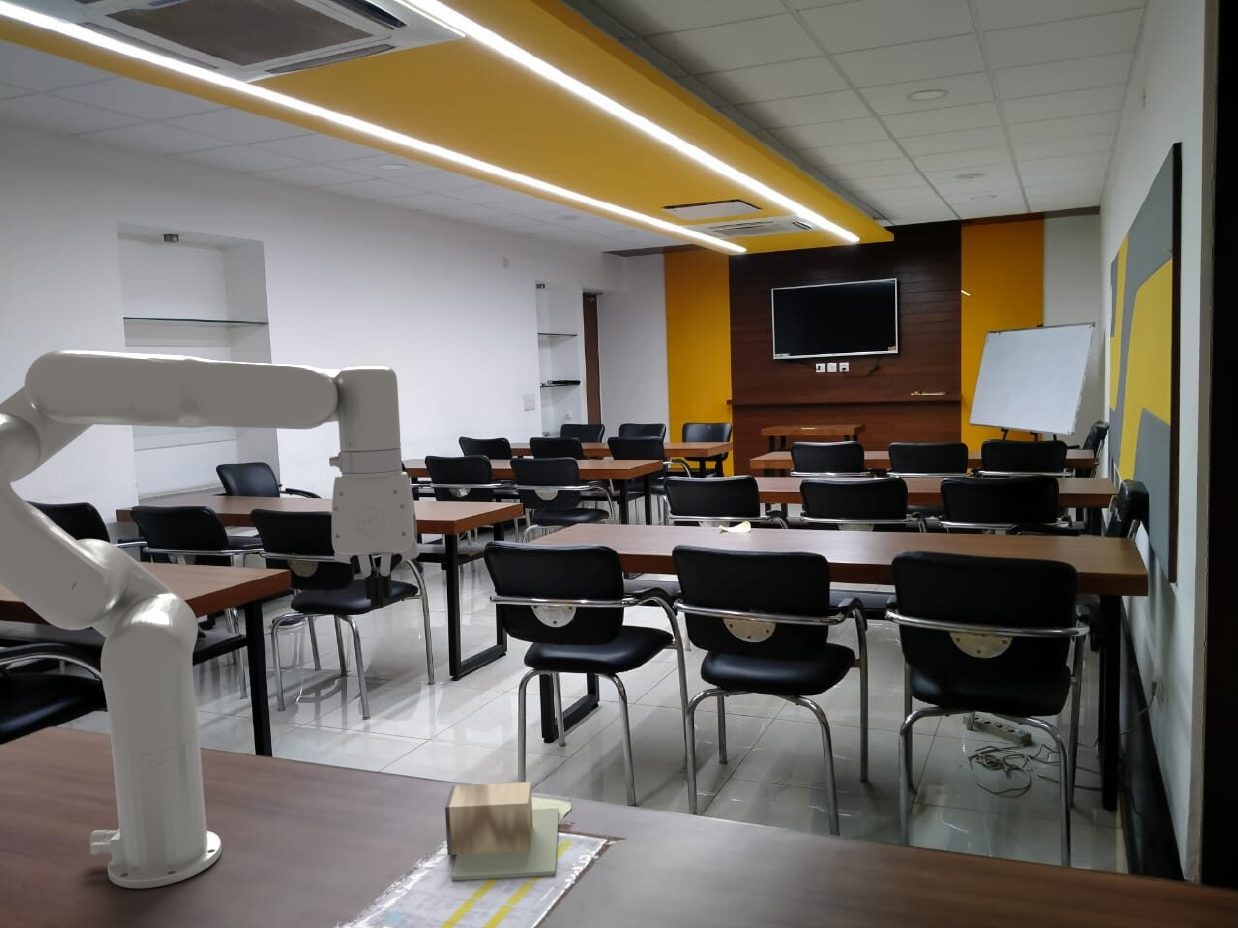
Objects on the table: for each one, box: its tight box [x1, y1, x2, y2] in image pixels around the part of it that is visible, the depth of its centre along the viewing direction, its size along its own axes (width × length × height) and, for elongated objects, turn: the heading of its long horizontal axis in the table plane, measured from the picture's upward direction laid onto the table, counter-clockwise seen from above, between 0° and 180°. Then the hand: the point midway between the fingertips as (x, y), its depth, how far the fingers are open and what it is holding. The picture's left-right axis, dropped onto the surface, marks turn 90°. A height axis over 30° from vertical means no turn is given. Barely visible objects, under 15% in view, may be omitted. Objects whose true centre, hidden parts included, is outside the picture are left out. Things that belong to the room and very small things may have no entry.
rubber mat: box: [451, 807, 560, 881], centre depth 118 cm, size 12×16×1 cm
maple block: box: [444, 781, 533, 856], centre depth 117 cm, size 6×6×10 cm
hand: (379, 604), depth 122 cm, fingers closed
